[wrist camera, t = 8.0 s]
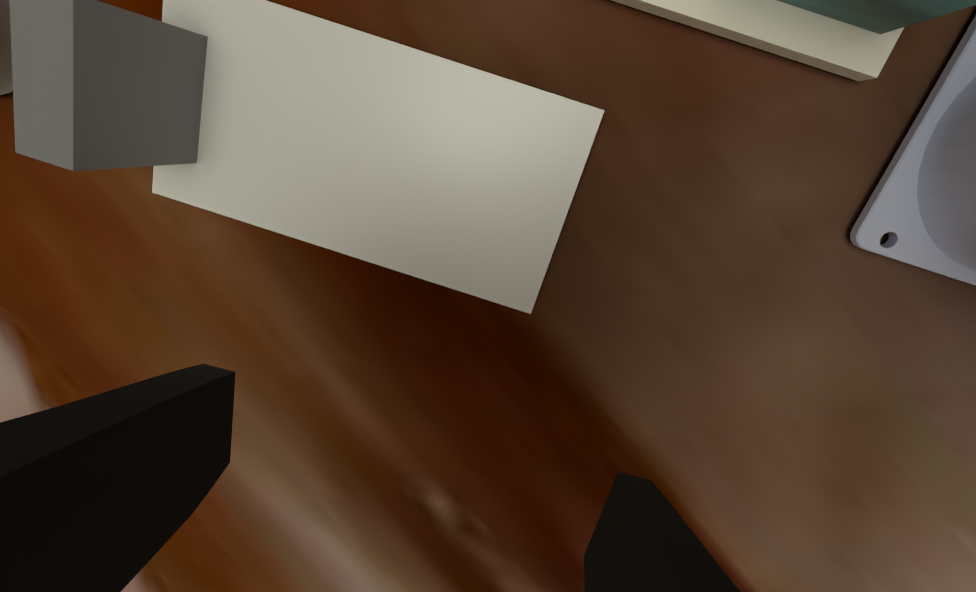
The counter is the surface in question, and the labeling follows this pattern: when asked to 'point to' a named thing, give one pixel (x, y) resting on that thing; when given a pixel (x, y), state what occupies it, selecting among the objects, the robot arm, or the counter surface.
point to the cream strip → (783, 32)
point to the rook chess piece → (5, 49)
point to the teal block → (881, 11)
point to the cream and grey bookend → (309, 133)
